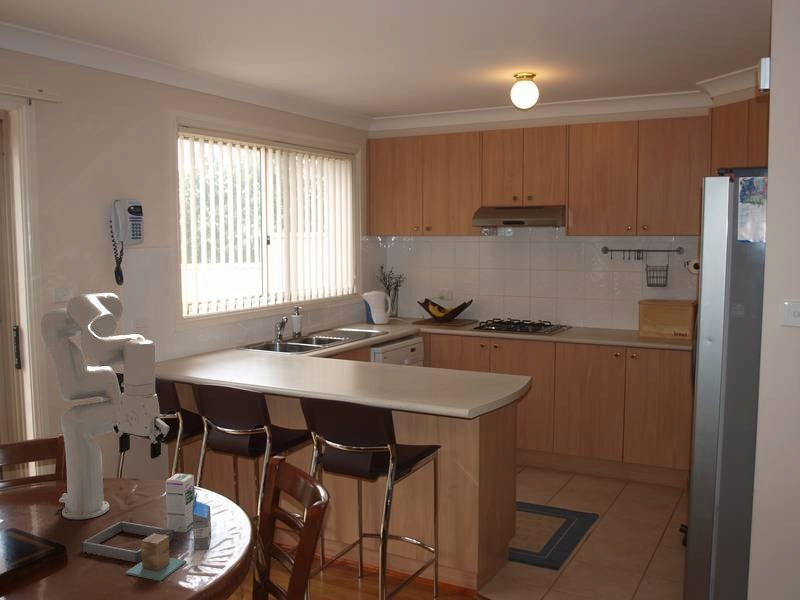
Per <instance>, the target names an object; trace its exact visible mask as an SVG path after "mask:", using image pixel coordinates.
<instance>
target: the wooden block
mask: <svg viewBox="0 0 800 600" xmlns="http://www.w3.org/2000/svg"><path fill="white" fill-rule="evenodd" d="M141 548H142V560H141V562H142V569H147V570H152V571H157V572H158V571H159V570H161V569H162V568H164V567H165V566H167V565H168V564H170V558H171V557H170V542H169V536H166V535H160V534H155V533H154V534H152V535H150V536H147V537H145V538H144V539H142V540H141Z"/></svg>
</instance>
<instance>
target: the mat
mask: <svg viewBox="0 0 800 600" xmlns="http://www.w3.org/2000/svg"><path fill="white" fill-rule="evenodd" d="M186 564H187V560H186V559H181V558H180V559H179V558H175V557H170V564H168V565H167V566H165V567H164V568H162V569H161V570H159V571H158V572H157V571H152V570H147V569H142V561H139V562H138V563H137V564H136V565H134V566H133V567H131V568H129V569H128V570H127V571H125V575H130V576H135V577H138V578H139V577H140V578H144V579H148V580H149V579H150V580H154V581H159V582H161V581H162V580H163V579H165V578H167V577H168V576H170V575H171V574H172V573H174V572H176V571H177V570H178V569H180V568H182V566H183V565H186Z"/></svg>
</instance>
